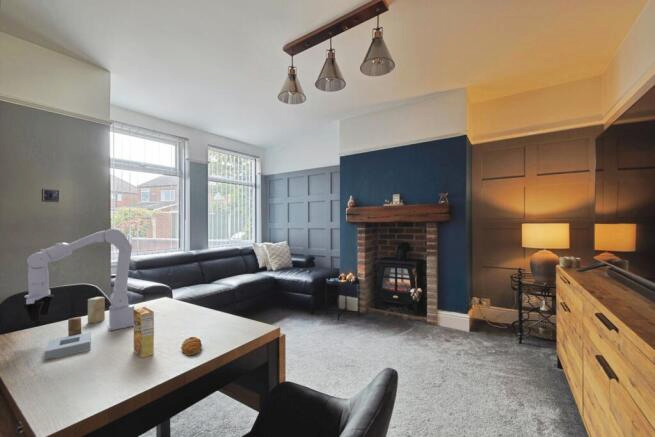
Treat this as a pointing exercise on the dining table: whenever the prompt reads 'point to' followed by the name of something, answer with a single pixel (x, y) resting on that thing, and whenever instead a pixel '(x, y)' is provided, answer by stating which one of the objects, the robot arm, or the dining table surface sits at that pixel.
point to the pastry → (191, 346)
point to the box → (96, 309)
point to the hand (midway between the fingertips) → (39, 317)
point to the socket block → (68, 345)
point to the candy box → (143, 332)
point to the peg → (74, 326)
